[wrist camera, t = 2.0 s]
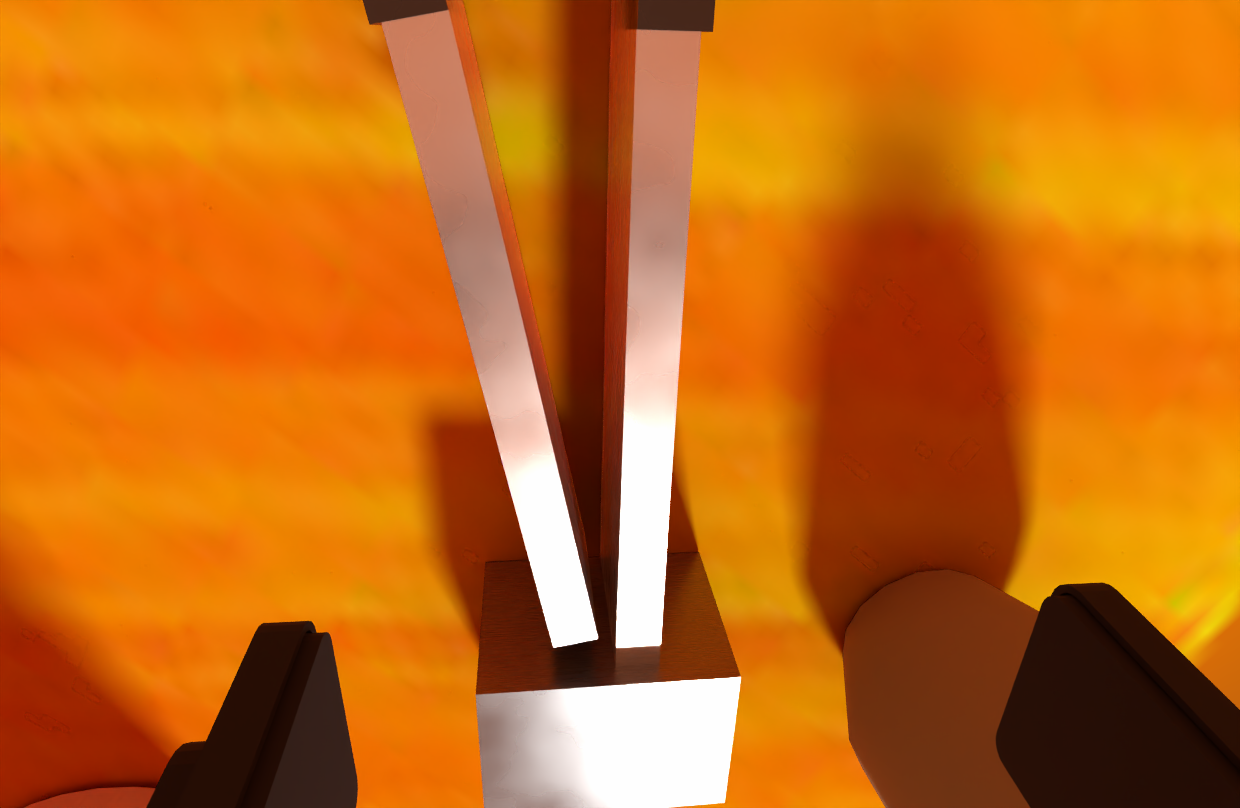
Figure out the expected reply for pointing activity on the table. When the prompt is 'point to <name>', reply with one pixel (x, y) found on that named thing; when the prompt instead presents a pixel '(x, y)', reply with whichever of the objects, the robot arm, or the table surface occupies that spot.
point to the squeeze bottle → (935, 689)
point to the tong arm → (492, 293)
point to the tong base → (624, 502)
